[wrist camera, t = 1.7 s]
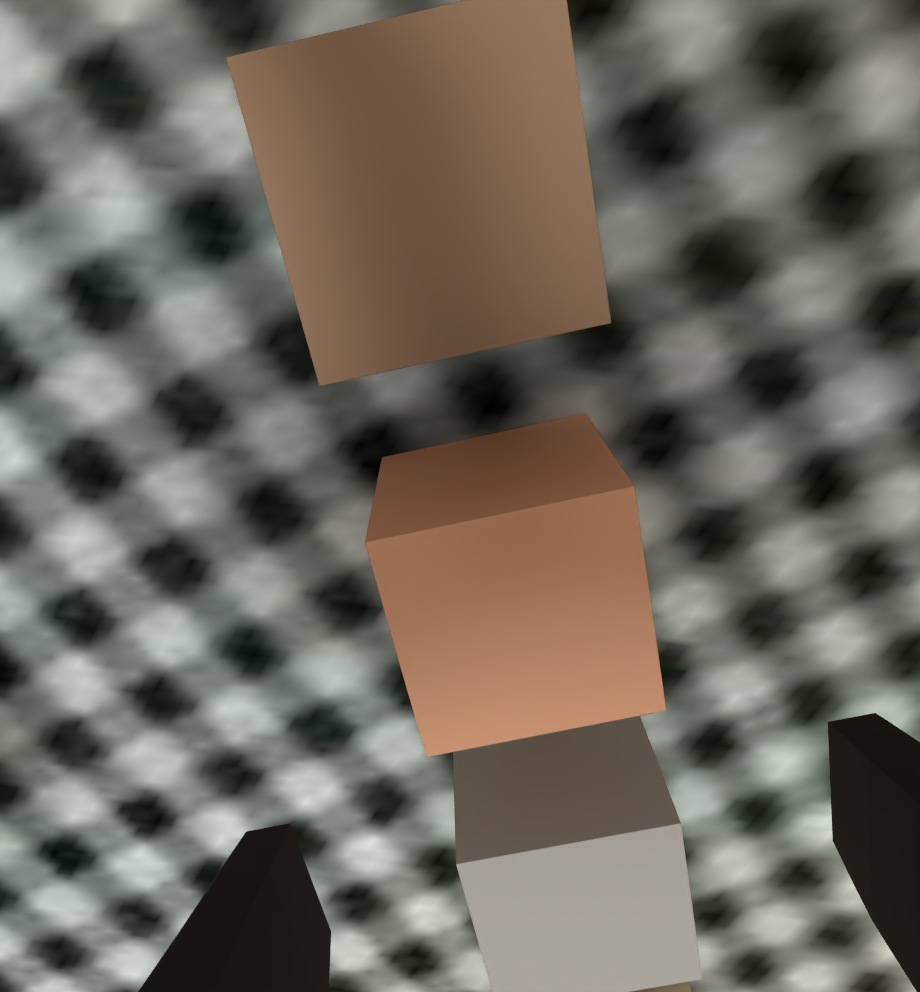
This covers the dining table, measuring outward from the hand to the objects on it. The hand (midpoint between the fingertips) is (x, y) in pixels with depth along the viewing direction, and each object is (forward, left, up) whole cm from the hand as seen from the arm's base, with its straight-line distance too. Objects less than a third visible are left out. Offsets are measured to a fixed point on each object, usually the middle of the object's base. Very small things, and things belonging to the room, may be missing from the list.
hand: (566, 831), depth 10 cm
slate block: (0, +8, -10) cm, 13 cm away
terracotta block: (0, 0, -10) cm, 10 cm away
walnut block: (0, -8, -10) cm, 13 cm away
